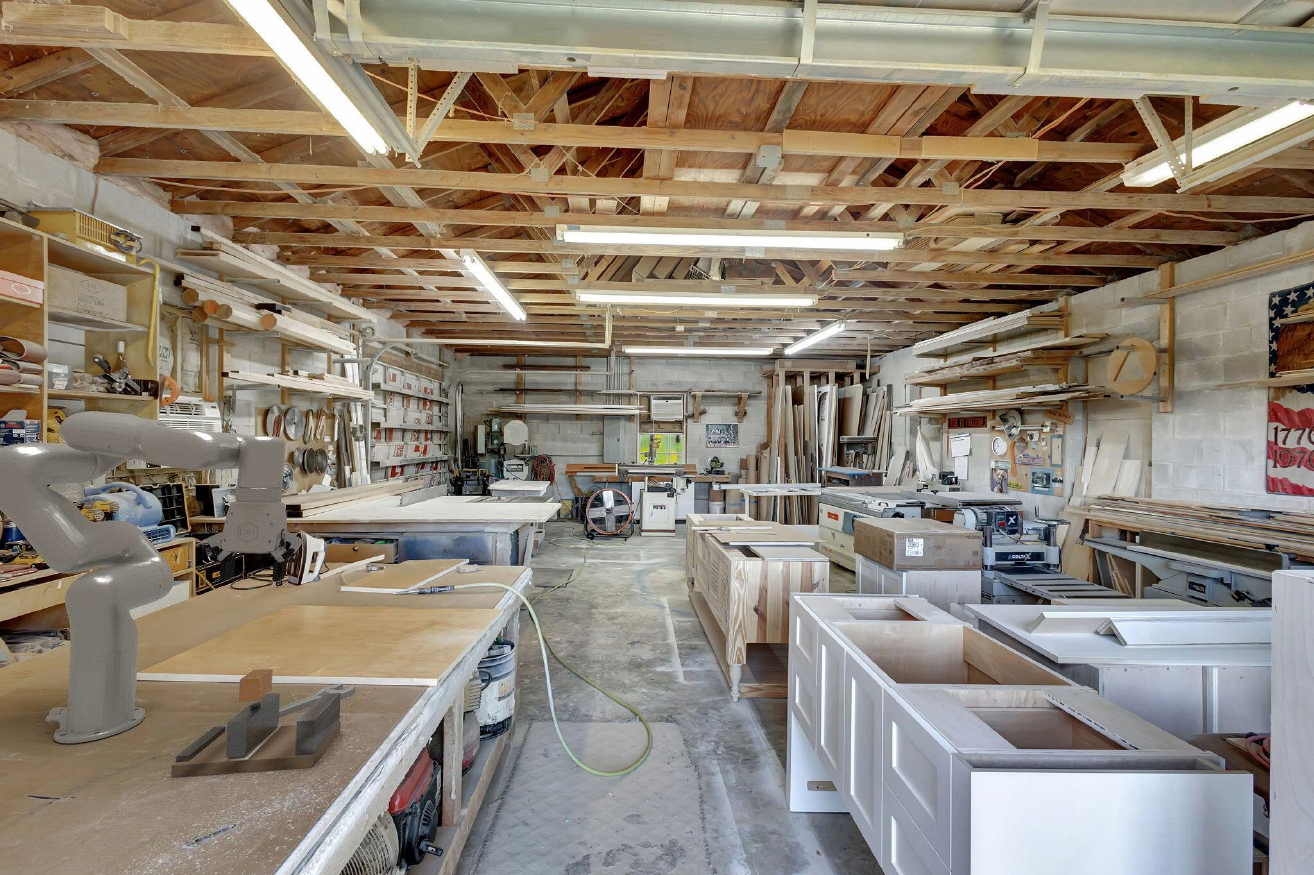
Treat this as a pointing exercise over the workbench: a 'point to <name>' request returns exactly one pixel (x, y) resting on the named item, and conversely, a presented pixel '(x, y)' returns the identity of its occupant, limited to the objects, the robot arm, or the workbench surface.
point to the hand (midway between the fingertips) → (252, 579)
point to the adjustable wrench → (314, 699)
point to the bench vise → (266, 745)
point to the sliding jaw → (253, 713)
